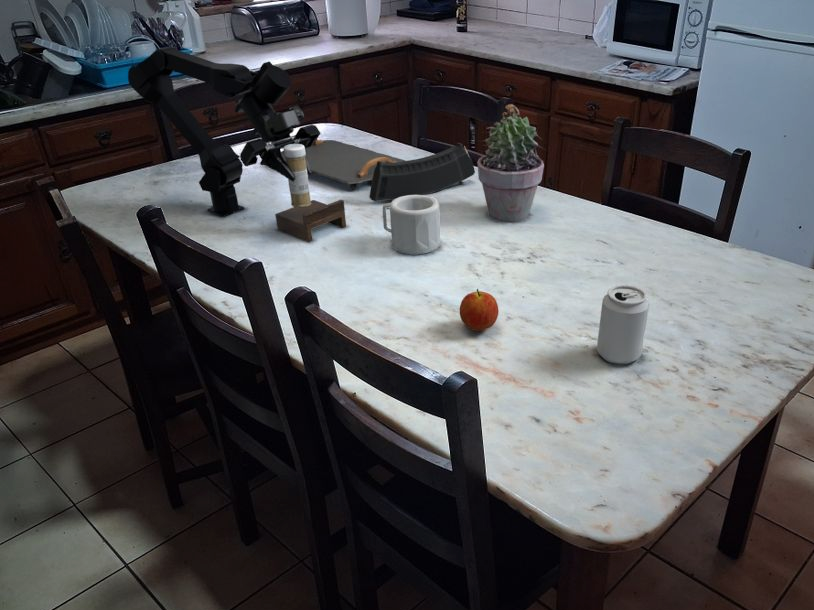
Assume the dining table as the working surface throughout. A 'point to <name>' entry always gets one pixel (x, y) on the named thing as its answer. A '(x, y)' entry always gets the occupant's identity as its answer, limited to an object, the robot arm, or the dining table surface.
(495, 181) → the potted plant
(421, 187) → the magazine
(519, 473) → the dining table surface
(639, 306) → the can
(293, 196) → the sprinkles bottle
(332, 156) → the serving tray
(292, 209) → the shelf
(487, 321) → the fruit
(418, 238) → the mug
